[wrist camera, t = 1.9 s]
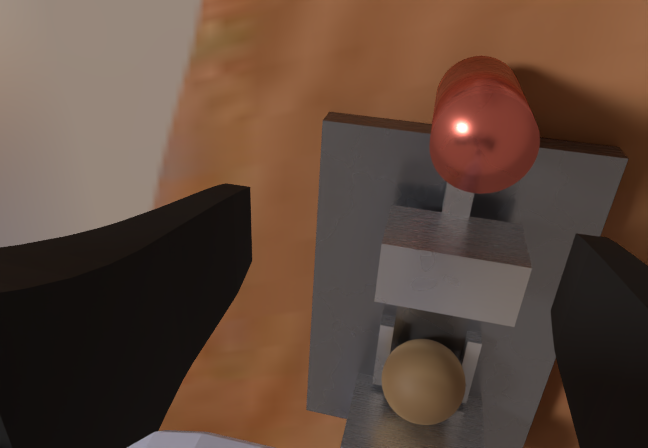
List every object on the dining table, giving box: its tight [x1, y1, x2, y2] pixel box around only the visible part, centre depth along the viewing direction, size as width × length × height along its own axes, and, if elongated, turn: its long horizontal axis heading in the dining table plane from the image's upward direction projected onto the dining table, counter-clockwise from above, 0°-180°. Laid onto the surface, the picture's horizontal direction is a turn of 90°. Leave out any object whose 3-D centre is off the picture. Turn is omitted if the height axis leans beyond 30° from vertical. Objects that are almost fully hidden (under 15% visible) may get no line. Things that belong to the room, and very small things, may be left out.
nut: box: [382, 339, 466, 425], centre depth 23 cm, size 4×4×4 cm
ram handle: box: [374, 56, 540, 327], centre depth 17 cm, size 8×5×5 cm, turn 177°
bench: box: [307, 112, 628, 448], centre depth 22 cm, size 16×11×6 cm
